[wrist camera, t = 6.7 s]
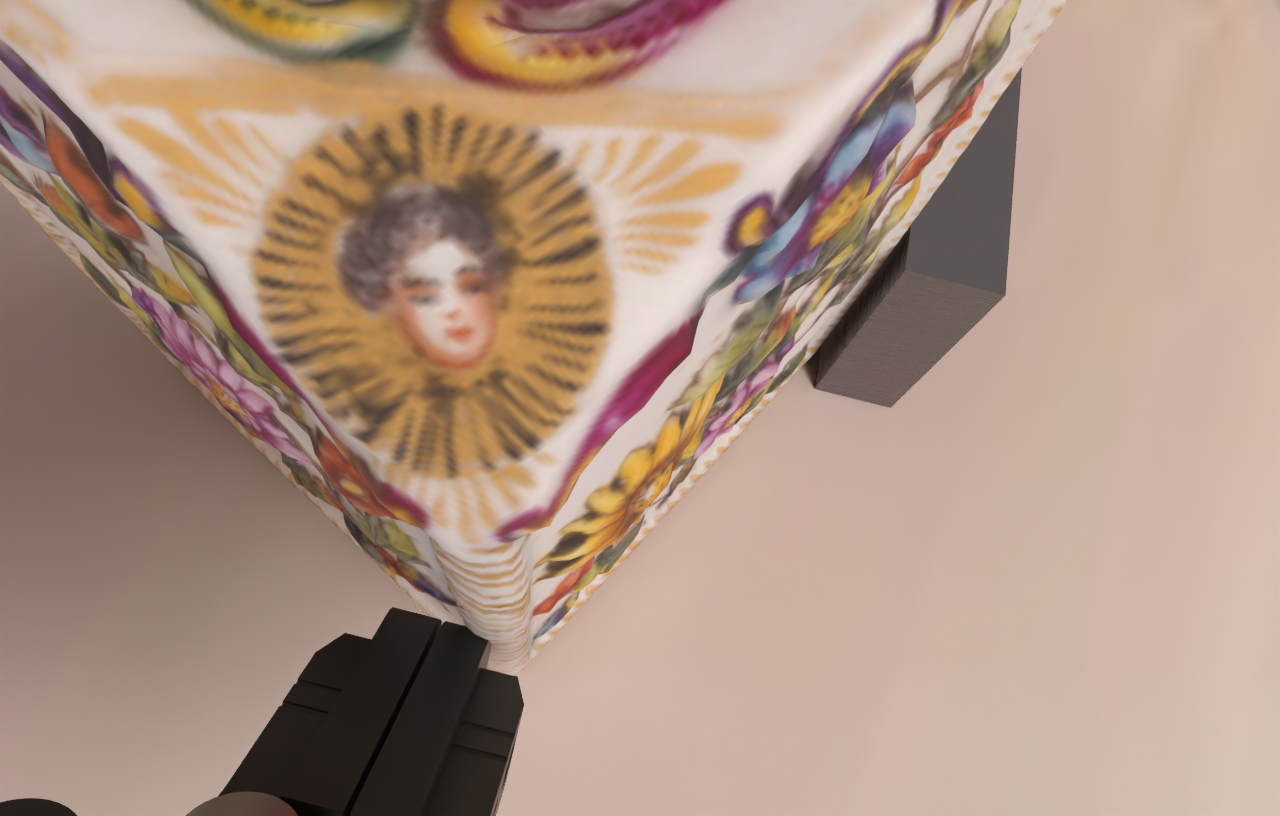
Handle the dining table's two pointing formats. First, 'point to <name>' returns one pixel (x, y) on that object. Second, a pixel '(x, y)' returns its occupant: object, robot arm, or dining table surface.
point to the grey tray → (932, 273)
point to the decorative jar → (492, 239)
